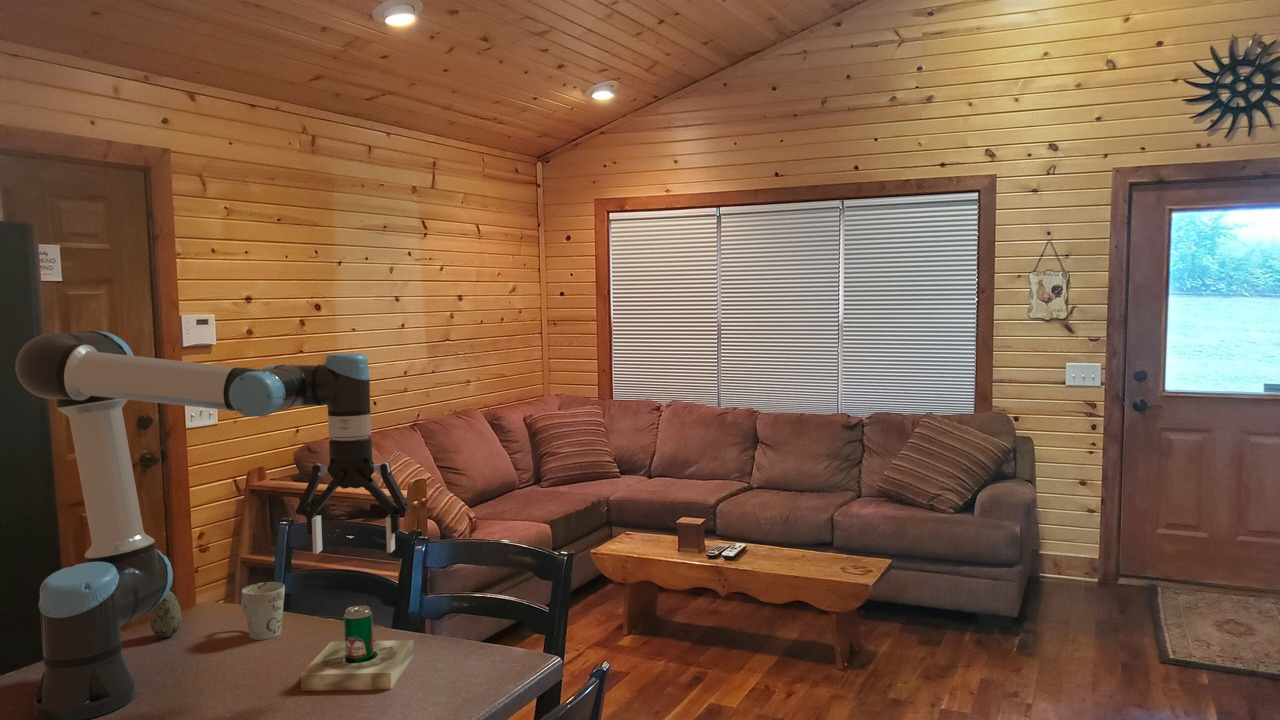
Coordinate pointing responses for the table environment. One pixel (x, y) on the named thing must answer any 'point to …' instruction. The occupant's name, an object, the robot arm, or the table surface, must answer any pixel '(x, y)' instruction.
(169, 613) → the decorative egg
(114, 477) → the robot arm
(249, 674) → the table surface
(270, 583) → the mug
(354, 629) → the soda can
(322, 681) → the hub block
